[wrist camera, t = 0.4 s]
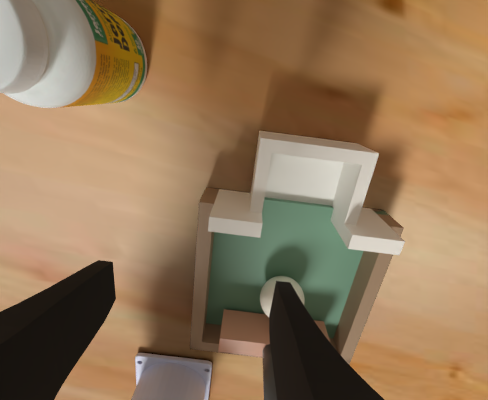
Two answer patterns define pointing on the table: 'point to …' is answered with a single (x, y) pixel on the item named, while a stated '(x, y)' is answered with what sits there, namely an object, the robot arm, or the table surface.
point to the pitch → (295, 238)
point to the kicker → (252, 341)
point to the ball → (268, 292)
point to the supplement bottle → (68, 54)
